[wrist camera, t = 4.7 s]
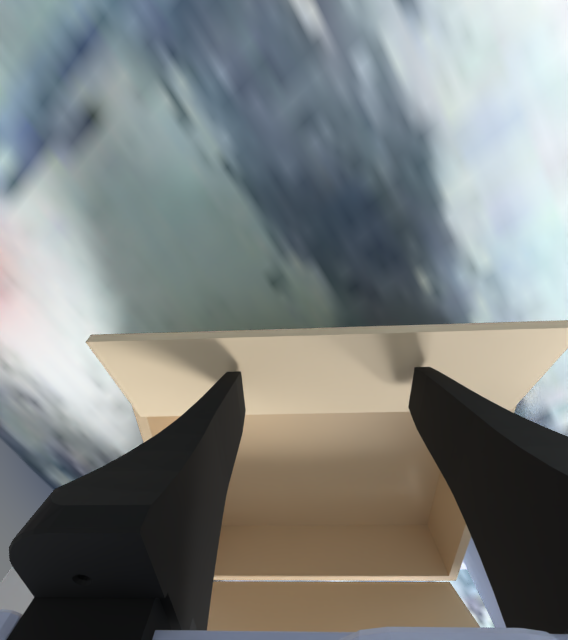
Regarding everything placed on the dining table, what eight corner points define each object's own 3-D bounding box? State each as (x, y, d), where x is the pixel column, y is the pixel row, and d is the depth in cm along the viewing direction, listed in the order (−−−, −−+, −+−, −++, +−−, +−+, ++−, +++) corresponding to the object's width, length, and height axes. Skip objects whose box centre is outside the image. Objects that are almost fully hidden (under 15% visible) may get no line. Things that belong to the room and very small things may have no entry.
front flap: (511, 409, 14) (507, 402, 14) (586, 327, 10) (577, 320, 10) (140, 416, 14) (143, 409, 15) (85, 342, 11) (91, 334, 11)
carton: (472, 355, 18) (519, 395, 14) (430, 522, 24) (455, 580, 21) (163, 363, 19) (131, 403, 15) (202, 524, 25) (186, 579, 21)
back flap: (193, 581, 21) (193, 587, 21) (157, 661, 15) (157, 670, 15) (449, 582, 20) (450, 588, 20) (506, 666, 15) (507, 675, 15)
